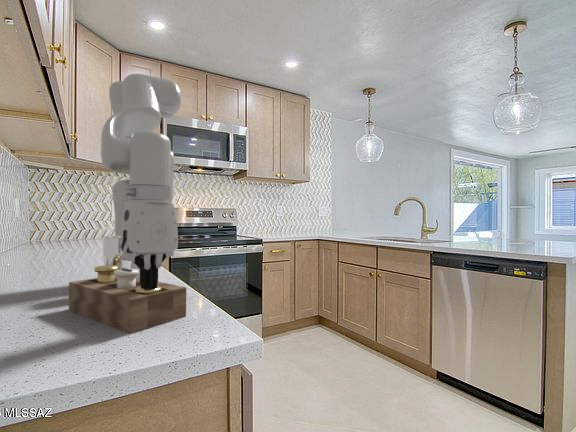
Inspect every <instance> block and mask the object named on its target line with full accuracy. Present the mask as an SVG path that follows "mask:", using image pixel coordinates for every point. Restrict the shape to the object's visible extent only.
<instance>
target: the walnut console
mask: <svg viewBox="0 0 576 432" xmlns="http://www.w3.org/2000/svg"><path fill="white" fill-rule="evenodd" d="M157 286H161V287H162V291H161V292H156V293H151V294H147V295H142V294H138V293H135V289H136V288H137V287H141V285H140V278H138V277H136V286H134V287H129V288H124V289H118V288H117V276H116V281H114V282H108V283H102V284H99V283H98V277H95V278H89V279H88V278H87V279H81V280H76V281H69V282H68V310H69V311H71V312H74V313H75V314H79V315H81V316H85V317H87V318H89V319H92V320H95V321H97V322H100V323H103V324H105V325H108V326H110V327H112V328H116V329H118V330H121V331H123V332H126V333H128V334H133V333H137V332H140V331H143V330H146V329H149V328H153V327H156V326H160V325H162V324H165V323H166V324H167V323H169V322H172V321H176V320H178V319H182V318H184V317H187V287H186V286H181V285H176V284H172V283H171V284H170V283H168V282H161V281H158V283H157Z"/></svg>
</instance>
